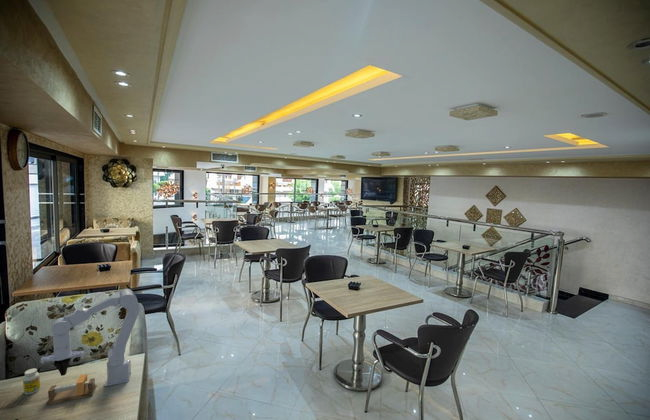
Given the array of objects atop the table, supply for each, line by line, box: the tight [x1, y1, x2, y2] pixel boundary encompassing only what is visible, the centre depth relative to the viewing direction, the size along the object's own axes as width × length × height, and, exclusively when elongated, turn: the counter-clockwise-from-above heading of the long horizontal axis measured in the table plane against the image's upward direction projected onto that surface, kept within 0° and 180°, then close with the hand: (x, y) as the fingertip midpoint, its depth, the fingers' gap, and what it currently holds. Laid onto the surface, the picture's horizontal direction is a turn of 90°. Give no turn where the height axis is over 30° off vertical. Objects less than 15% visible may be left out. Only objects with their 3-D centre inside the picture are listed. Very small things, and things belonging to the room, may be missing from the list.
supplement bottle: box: [22, 367, 41, 395], centre depth 137 cm, size 5×5×10 cm
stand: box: [45, 377, 97, 406], centre depth 135 cm, size 16×7×5 cm, turn 114°
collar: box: [75, 373, 88, 396], centre depth 137 cm, size 2×6×6 cm, turn 24°
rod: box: [54, 379, 94, 393], centre depth 135 cm, size 16×2×2 cm, turn 114°
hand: (63, 374), depth 134 cm, fingers closed
